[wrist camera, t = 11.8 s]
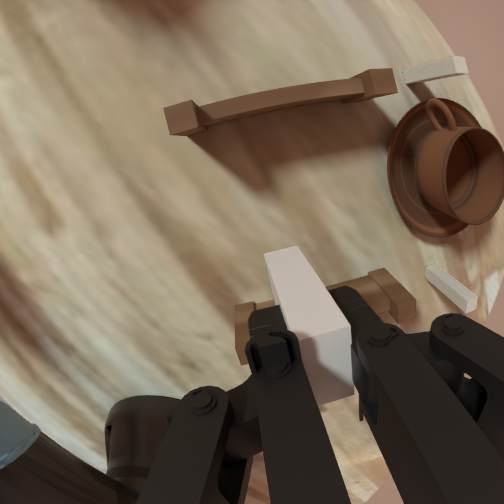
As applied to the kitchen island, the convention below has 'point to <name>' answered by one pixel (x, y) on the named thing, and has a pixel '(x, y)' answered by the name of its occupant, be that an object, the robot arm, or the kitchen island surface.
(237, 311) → the brown wooden rail pair
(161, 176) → the kitchen island surface
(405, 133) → the cup and saucer
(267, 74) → the kitchen island surface
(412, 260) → the kitchen island surface
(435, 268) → the posts
